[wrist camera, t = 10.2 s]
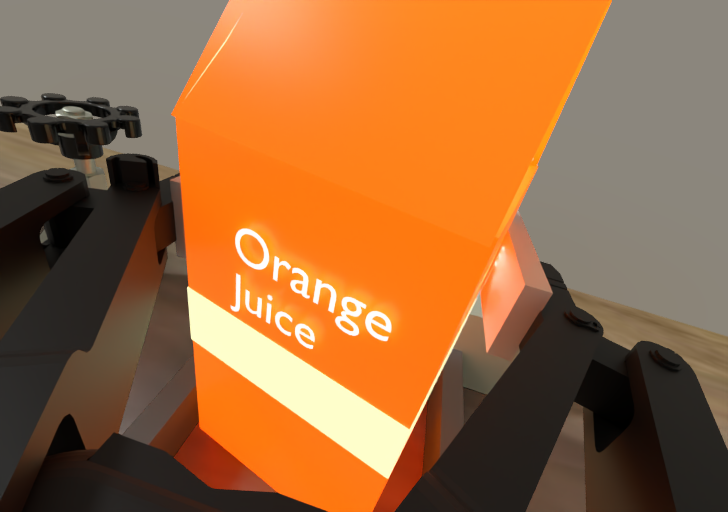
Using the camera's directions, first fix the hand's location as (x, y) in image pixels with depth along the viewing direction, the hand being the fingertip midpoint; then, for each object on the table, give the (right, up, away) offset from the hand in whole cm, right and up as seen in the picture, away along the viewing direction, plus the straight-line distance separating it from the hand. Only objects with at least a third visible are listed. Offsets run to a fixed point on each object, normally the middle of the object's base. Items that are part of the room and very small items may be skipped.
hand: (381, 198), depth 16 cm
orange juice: (-3, -11, +2) cm, 12 cm away
